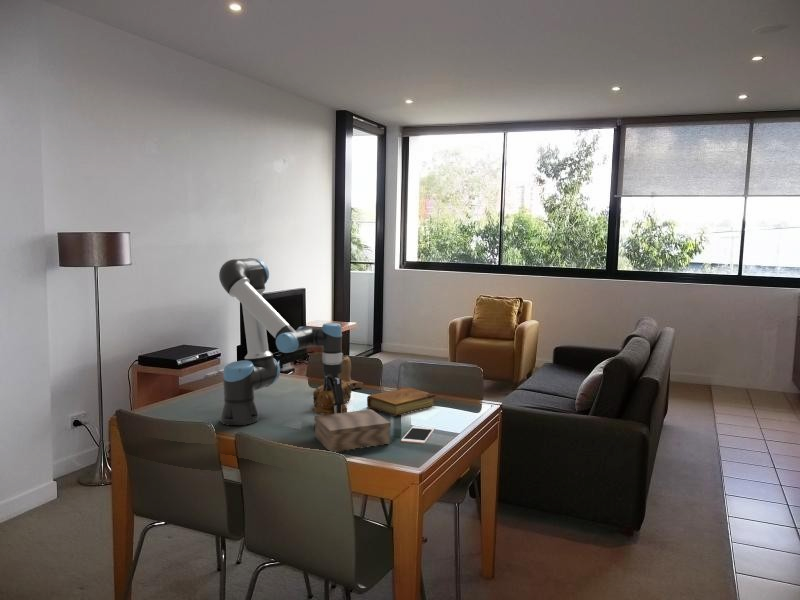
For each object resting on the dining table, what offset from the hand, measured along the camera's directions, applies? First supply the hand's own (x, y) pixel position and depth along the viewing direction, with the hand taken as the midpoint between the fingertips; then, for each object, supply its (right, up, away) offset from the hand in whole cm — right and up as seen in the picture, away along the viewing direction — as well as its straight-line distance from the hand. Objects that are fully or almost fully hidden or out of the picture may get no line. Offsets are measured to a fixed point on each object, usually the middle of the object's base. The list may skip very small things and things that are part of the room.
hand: (333, 416), depth 252 cm
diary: (+27, -1, +26) cm, 37 cm away
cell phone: (+33, -5, -13) cm, 36 cm away
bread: (-3, 0, +29) cm, 29 cm away
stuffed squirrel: (0, -3, +1) cm, 3 cm away
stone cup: (-1, +3, +59) cm, 59 cm away
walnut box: (+9, -5, -19) cm, 22 cm away
